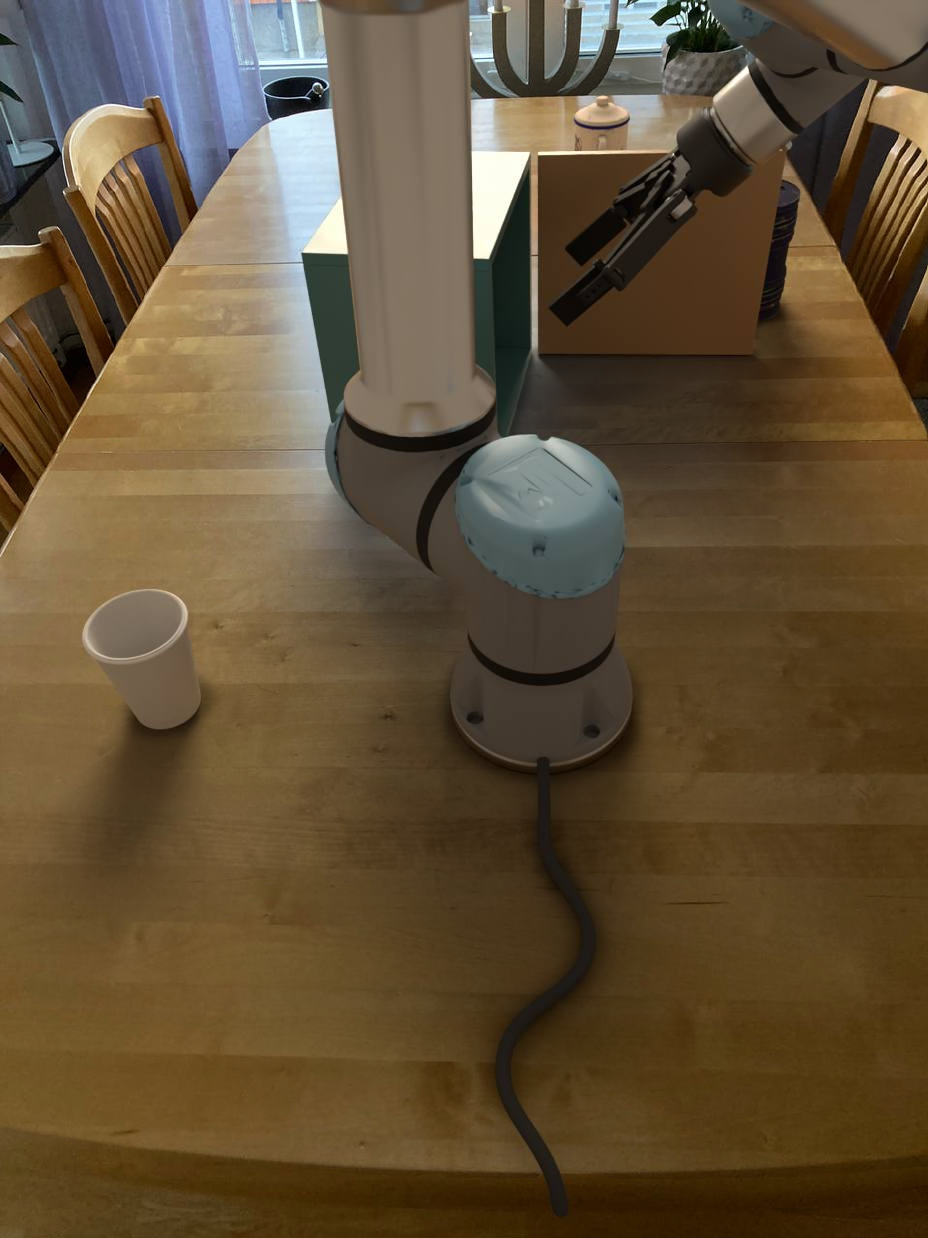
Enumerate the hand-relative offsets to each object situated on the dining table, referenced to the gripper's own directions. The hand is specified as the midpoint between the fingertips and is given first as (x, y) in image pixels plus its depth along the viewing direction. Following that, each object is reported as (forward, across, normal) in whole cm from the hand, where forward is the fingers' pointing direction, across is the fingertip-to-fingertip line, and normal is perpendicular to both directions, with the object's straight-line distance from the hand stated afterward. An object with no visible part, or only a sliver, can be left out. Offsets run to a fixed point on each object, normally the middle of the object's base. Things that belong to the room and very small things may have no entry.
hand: (565, 285), depth 102 cm
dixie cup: (+32, -49, +8) cm, 59 cm away
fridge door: (+5, +17, -17) cm, 25 cm away
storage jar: (-4, +28, -26) cm, 38 cm away
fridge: (+21, 0, -1) cm, 21 cm away
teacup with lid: (+13, +72, -9) cm, 74 cm away
